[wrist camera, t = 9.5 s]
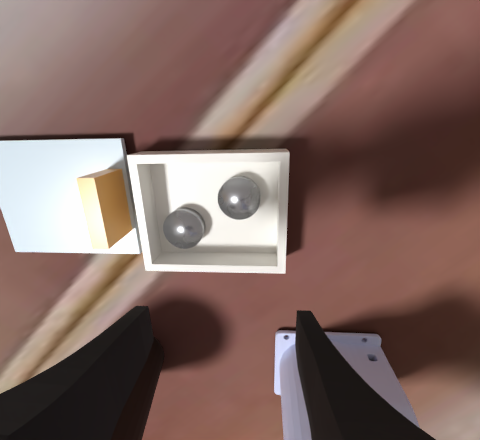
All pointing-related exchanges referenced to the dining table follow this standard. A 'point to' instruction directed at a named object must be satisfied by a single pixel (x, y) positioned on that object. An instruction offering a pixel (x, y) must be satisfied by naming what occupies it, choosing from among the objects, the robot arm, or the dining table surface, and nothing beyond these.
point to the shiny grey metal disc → (239, 197)
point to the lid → (68, 196)
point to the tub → (212, 209)
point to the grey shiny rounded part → (184, 227)
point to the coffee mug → (140, 398)
